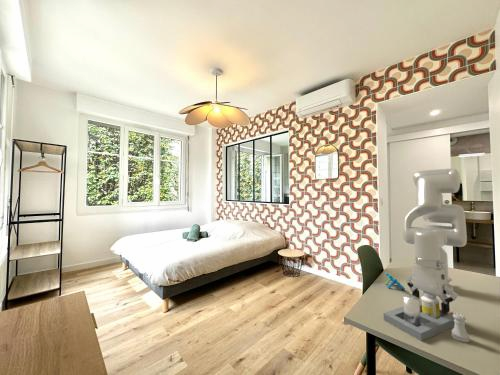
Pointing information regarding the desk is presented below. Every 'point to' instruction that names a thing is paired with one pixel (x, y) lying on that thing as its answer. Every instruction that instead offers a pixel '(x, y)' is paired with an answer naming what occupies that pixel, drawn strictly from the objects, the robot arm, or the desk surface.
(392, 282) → the gear
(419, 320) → the cylinder
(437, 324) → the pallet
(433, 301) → the supplement bottle
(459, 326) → the rook chess piece
